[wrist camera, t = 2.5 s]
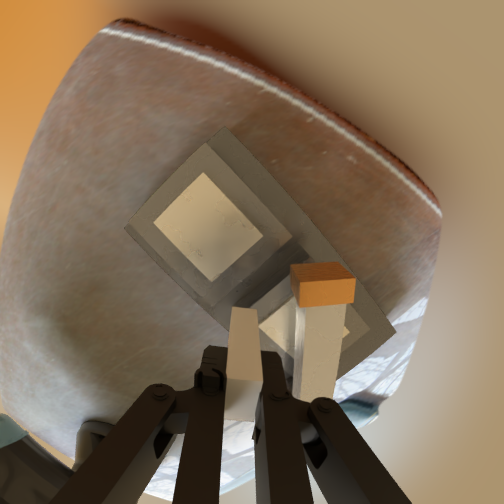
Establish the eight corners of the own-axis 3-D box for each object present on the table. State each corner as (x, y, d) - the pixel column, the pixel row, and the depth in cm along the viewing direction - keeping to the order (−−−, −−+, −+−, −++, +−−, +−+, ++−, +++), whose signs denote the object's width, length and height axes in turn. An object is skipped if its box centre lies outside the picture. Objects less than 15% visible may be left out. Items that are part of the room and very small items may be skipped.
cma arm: (321, 431, 22) (327, 455, 19) (280, 436, 22) (284, 461, 19) (343, 261, 18) (362, 277, 14) (284, 264, 17) (292, 282, 14)
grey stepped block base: (295, 388, 30) (307, 437, 23) (127, 233, 25) (86, 255, 17) (385, 319, 28) (419, 357, 21) (227, 132, 23) (219, 111, 15)
